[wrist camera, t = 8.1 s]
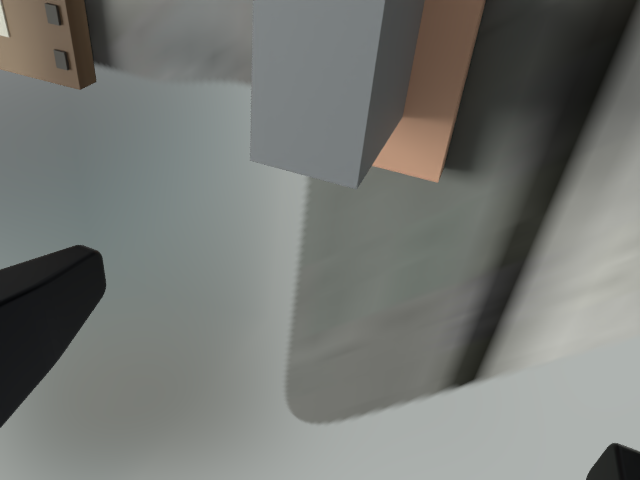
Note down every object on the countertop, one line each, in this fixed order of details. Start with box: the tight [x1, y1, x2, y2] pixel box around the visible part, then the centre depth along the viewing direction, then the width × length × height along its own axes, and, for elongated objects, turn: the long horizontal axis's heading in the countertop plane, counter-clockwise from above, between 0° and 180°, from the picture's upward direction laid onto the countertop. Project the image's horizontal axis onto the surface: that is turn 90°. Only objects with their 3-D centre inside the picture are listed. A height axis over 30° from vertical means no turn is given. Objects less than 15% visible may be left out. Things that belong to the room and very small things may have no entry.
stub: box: [250, 0, 486, 189], centre depth 16 cm, size 7×9×6 cm
